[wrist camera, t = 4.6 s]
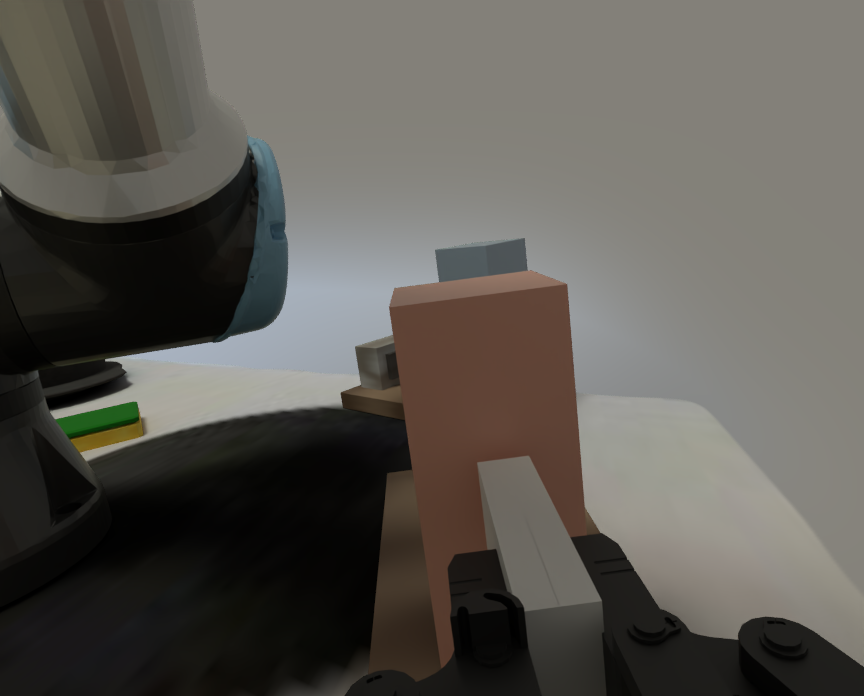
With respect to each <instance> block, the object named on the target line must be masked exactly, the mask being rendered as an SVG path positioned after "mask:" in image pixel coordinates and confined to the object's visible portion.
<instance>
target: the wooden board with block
mask: <svg viewBox="0 0 864 696" xmlns="http://www.w3.org/2000/svg"><path fill="white" fill-rule="evenodd" d="M355 349H356V356H357V362H358V368H359V375H360V381H361V385H360V386H357V387H354V388H352V389H349V390H346V391H344V392H341V398H342V404H343V408H347V409H352V410H357V411H362V412H367V413H372V414H377V415H382V416H387V417H392V418H397V419H402V420H405V414H404V407H403V400H402V393H401V386H400V379H399V372H398V365H397V358H396V351H395V344H394V338H393V335H391V336H388V337H385V338H382V339H379V340H375V341H372V342H369V343H365V344H362V345H359V346H356V347H355Z"/></svg>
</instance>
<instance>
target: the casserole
mask: <svg viewBox="0 0 864 696" xmlns="http://www.w3.org/2000/svg"><path fill="white" fill-rule="evenodd" d="M38 373H39V379H40V382H41V386H42V389H43V393H44V397H45V399H46V402H47V401H51V400H56V399H60V398H63V397H67V396H70V395H73V394H76V393H79V392H82V391H84V390H87V389H89V388H91V387H94V386H97V385H101V384H104V383H107V382H109V381H112V380H115V379H117V378H119V377H122V376H123V375H124V374H125V373H126V371H125V370H124V369H122V365H121V364H120V363H118V362H105V359H102V360H96V361H90V362H84V363H77V364H71V365H65V366H61V367H54V368H48V369H43V370H38Z"/></svg>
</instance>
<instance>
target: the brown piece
mask: <svg viewBox="0 0 864 696" xmlns="http://www.w3.org/2000/svg"><path fill="white" fill-rule="evenodd" d="M585 519H586V531H587V535H592V534H599V533H600V531H599V530H598V528H597V527H596V525H595V523H594V522H593V520H592V518H591V517H590V515H589V513H588V512H587V510H586V509H585ZM391 669H392V670H396V671H401V672H405V673H406V674H408V675H409V676H410V677H412V678H413V679H414V680H415V682H417V681H420V680H422V679H425V678H427V677H429V676H431V675H433V674H434V673H436V672H438V671H439V670H440V669H441V664H440V657H439V650H438V643H437V636H436V629H435V622H434V615H433V608H432V601H431V594H430V587H429V580H428V573H427V567H426V560H425V553H424V546H423V539H422V532H421V525H420V518H419V511H418V504H417V497H416V490H415V483H414V476H413V470H407V471H400V472H392V473H388V474H387V484H386V494H385V505H384V515H383V525H382V536H381V546H380V557H379V567H378V577H377V588H376V598H375V609H374V619H373V629H372V640H371V650H370V660H369V671H368V674H371V673H373V672H376V671H381V670H391Z"/></svg>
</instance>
